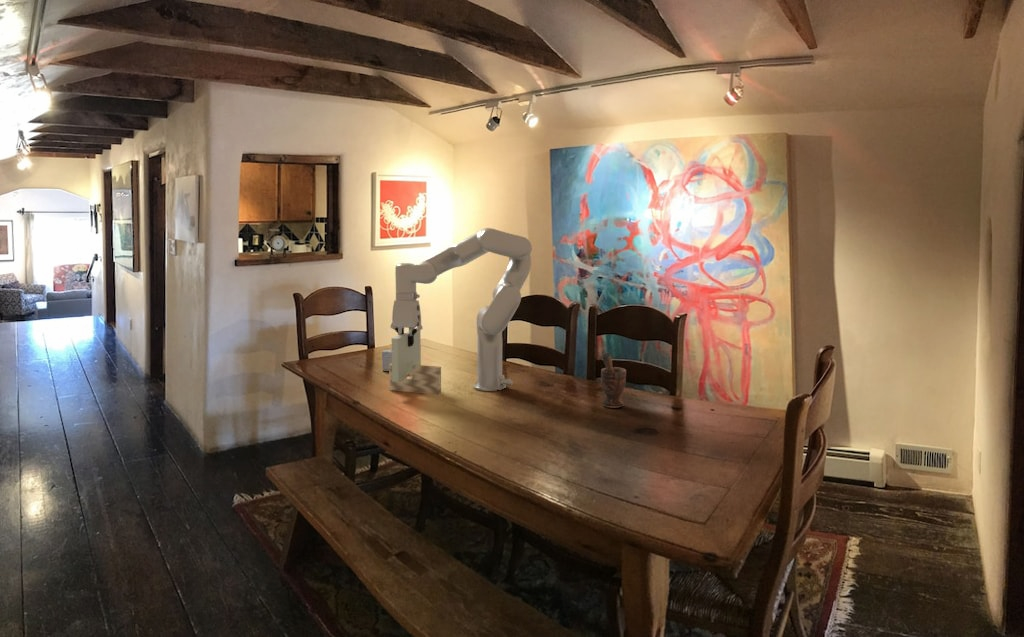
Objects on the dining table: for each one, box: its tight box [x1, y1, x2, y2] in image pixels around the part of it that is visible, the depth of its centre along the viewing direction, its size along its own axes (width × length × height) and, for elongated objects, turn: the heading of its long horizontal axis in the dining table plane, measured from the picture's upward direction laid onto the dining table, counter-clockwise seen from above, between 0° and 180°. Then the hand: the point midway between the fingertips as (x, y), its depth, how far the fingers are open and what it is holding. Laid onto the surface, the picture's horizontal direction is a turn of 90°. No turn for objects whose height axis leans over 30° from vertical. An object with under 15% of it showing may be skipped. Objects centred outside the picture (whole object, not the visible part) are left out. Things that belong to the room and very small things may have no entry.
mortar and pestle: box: [600, 353, 627, 406], centre depth 230 cm, size 12×9×20 cm
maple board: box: [388, 363, 442, 395], centre depth 250 cm, size 20×2×10 cm, turn 74°
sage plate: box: [391, 330, 422, 382], centre depth 249 cm, size 20×2×16 cm, turn 164°
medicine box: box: [381, 349, 392, 372], centre depth 283 cm, size 8×4×9 cm, turn 84°
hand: (406, 345), depth 249 cm, fingers closed on sage plate, 2 cm apart
